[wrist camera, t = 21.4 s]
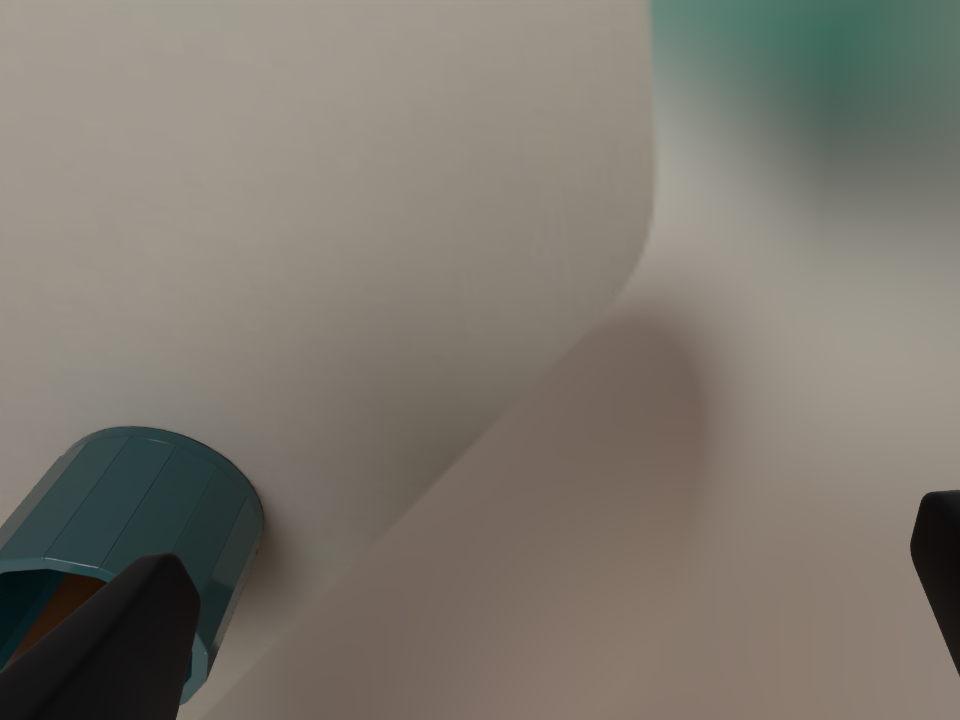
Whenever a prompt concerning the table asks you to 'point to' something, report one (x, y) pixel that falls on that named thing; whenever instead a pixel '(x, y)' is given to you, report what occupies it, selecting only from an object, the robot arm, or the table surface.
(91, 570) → the cup
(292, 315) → the table surface
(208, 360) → the table surface
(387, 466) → the table surface
